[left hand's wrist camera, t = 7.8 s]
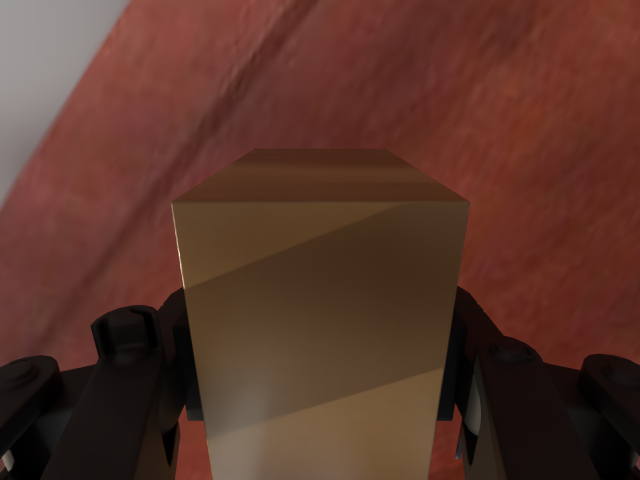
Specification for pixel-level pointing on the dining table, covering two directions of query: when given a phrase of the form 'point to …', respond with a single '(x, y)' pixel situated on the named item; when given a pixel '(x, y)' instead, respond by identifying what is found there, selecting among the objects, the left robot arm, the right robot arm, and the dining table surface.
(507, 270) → the dining table surface
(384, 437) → the bar
